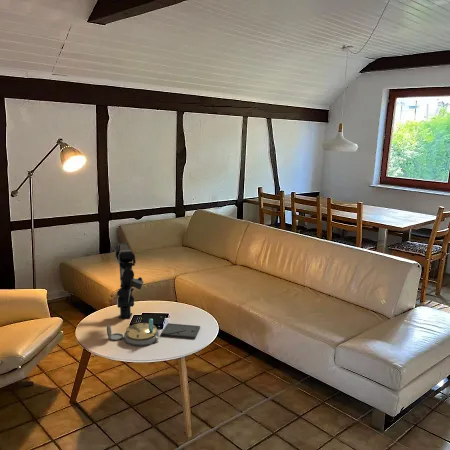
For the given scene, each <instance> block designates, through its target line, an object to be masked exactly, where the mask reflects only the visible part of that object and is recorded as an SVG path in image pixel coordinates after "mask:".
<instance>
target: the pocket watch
mask: <svg viewBox="0 0 450 450" xmlns="http://www.w3.org/2000/svg"><path fill="white" fill-rule="evenodd" d="M107 323H108V324H106V334H107V337H108V338H109V339H110V340H112V341H120V340H122V339H124V334H122V333H118V332H117V333H112V328H111V323H110V321H109V320H107Z"/></svg>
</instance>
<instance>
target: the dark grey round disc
mask: <svg viewBox="0 0 450 450" xmlns="http://www.w3.org/2000/svg"><path fill="white" fill-rule="evenodd" d="M159 340H160V336H159V331H158V330H157V334H156V336H155V337H153V338H151V339H148V340H143V341H136V340H131V339H129V338H127V336H126V331H125V332H124V334H123V341H124V343H125V344H126V345H128V346H130V347H131V346H132V347H146V346H147V347H148V346H150V345H151V346H152V345H153V344H155V343H159Z"/></svg>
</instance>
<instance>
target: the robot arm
mask: <svg viewBox="0 0 450 450" xmlns="http://www.w3.org/2000/svg"><path fill="white" fill-rule="evenodd" d="M128 244H129V243H127V242H119V243H118V245H117V246H116V247H115V248H114V258H116V259H115V260H116V262H117V264H118V266H119V282H120V285H119V287H120V288H119V289H118V290H117V291H116V295H117V296H118V297H117V298H116V299H117V300H116V302H117V303H116V304H117V305H116V306H117V308H119V313H120V314H119V316H118V319H131V318H132V316H133V313H132V311H131V310H132V309H131V307H132V308H133V307H134V306H135V298H134V296H133V294H132V293H133V291H134V289H137V290H141V289H142V288H143V285H144V280H143V278H142V277H141V276H139V277H138V278H135V272H134V270H133V267H134V266H135V264H136V261H137V260H136V255H135V253H134V252H133V250H131V248H130V246H129V245H128Z"/></svg>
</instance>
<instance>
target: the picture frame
mask: <svg viewBox="0 0 450 450" xmlns="http://www.w3.org/2000/svg"><path fill="white" fill-rule="evenodd" d="M200 330H201V326H200V325H192V324H181V323H180V324H179V323H167V324H166V326H165V327H164V329H163V330H162V331H161V333H160V337H166V338H176V339H177V338H179V339H188V340H196V338H197V336H198V334H199V331H200Z"/></svg>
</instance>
